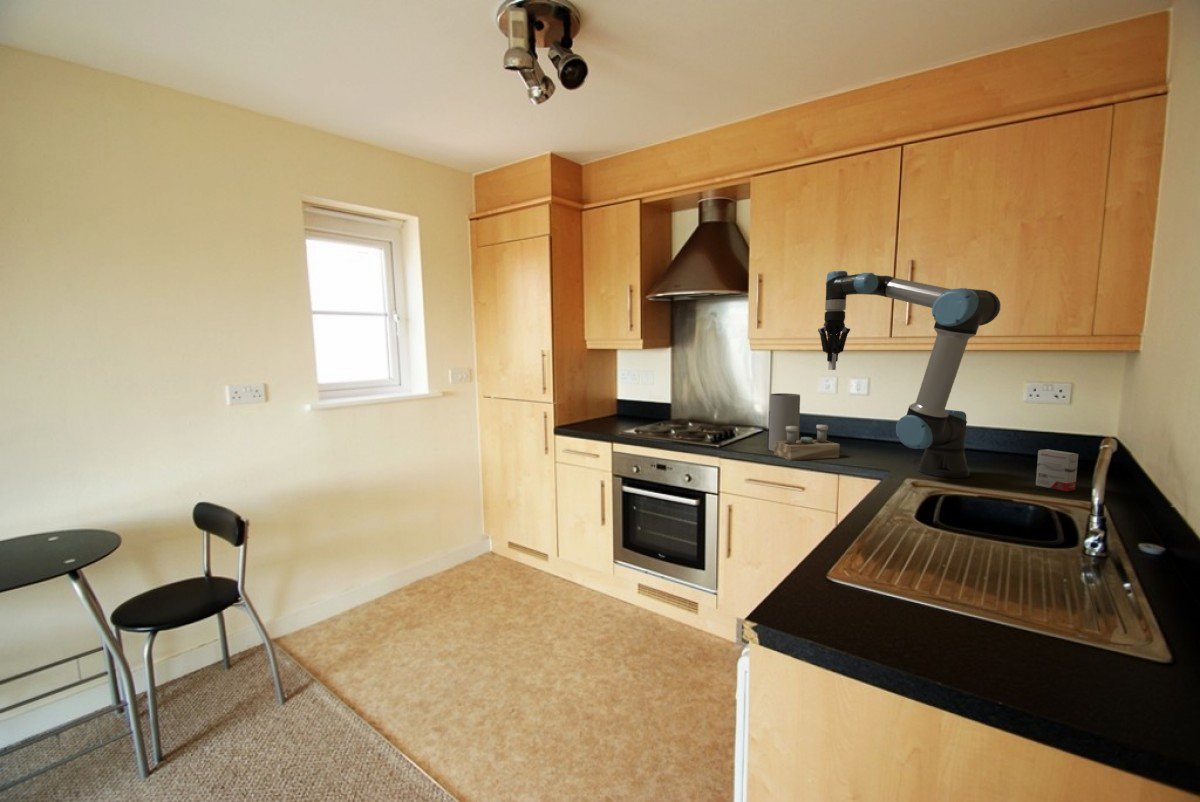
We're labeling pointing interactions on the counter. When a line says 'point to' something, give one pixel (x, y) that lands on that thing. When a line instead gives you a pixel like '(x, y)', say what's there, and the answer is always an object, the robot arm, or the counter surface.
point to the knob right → (821, 433)
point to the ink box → (1057, 470)
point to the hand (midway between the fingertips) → (831, 369)
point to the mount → (807, 450)
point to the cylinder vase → (783, 416)
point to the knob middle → (806, 440)
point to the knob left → (791, 434)
